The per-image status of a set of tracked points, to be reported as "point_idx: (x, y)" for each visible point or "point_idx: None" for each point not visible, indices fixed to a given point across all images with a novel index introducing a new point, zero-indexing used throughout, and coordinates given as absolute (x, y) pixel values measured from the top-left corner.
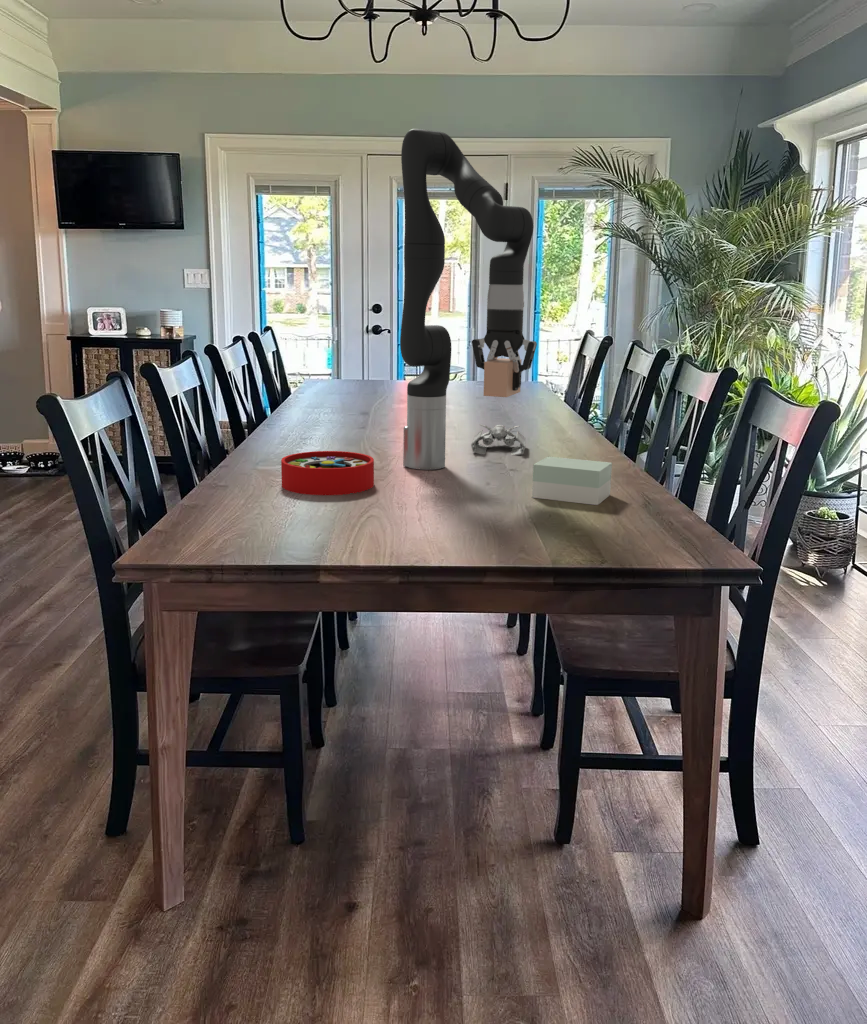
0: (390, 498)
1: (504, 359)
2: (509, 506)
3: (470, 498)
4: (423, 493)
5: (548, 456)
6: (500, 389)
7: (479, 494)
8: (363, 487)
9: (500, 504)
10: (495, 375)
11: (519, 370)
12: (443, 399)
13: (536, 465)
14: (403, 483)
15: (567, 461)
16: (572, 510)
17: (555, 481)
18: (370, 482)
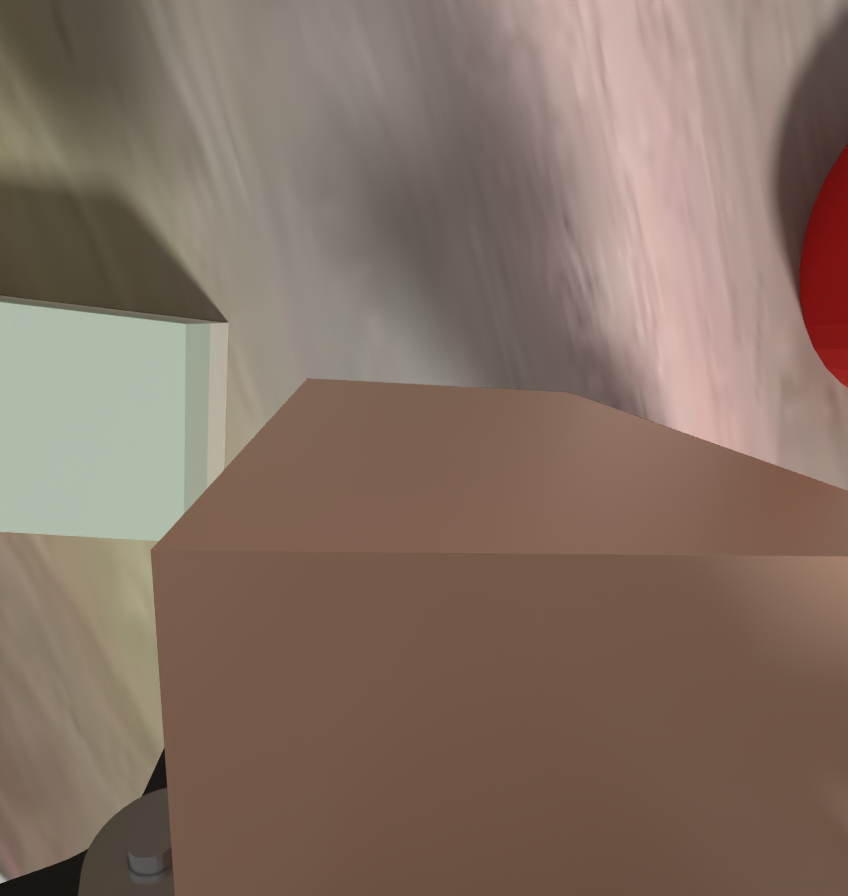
0: (711, 111)
1: None
2: (264, 140)
3: (439, 221)
4: (616, 238)
5: None
6: (385, 394)
7: (424, 299)
8: (831, 190)
9: (306, 162)
10: (510, 437)
11: (102, 851)
12: None
13: (170, 322)
14: (711, 366)
15: (56, 463)
16: (8, 161)
17: (97, 310)
18: (822, 241)
